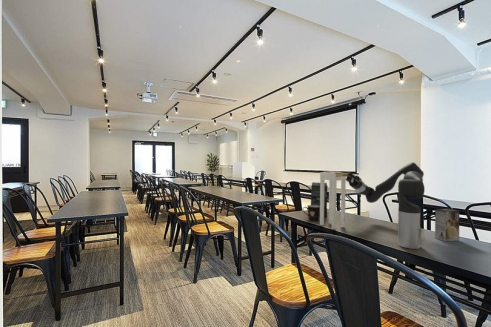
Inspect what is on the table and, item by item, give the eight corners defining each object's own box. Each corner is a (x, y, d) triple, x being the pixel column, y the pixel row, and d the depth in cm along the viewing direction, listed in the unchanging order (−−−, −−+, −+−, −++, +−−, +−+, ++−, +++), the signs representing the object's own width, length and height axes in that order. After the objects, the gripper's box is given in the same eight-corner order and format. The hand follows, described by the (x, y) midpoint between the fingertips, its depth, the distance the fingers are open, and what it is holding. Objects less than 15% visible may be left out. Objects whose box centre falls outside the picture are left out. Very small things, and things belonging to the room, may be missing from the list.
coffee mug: (322, 220, 178) (322, 206, 178) (314, 222, 173) (314, 207, 173) (309, 217, 187) (309, 204, 187) (301, 218, 183) (301, 205, 182)
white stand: (345, 227, 160) (345, 173, 160) (333, 229, 156) (334, 173, 155) (330, 223, 171) (331, 172, 170) (319, 224, 166) (320, 172, 166)
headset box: (327, 217, 187) (327, 182, 186) (310, 216, 190) (311, 182, 190) (326, 211, 208) (326, 180, 208) (311, 210, 212) (311, 180, 211)
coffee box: (447, 237, 142) (448, 208, 142) (459, 240, 136) (460, 210, 136) (434, 238, 140) (434, 209, 140) (445, 241, 134) (446, 211, 134)
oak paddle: (355, 176, 166) (355, 171, 166) (334, 177, 157) (334, 172, 157) (343, 175, 174) (343, 171, 174) (323, 176, 165) (323, 171, 165)
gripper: (364, 190, 167) (350, 178, 160) (347, 188, 180) (333, 177, 173) (368, 180, 169) (354, 168, 162) (350, 179, 181) (337, 167, 174)
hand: (343, 173), depth 167 cm, fingers open, 8 cm apart
